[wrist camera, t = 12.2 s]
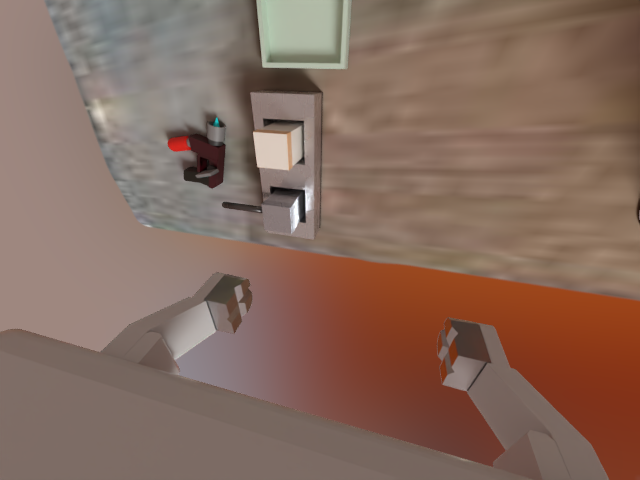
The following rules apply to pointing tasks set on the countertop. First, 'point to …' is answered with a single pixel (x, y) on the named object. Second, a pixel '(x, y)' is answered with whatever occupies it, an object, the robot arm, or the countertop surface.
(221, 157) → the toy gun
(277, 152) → the plug
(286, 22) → the tray
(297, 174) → the grey box with openings
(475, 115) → the countertop surface
